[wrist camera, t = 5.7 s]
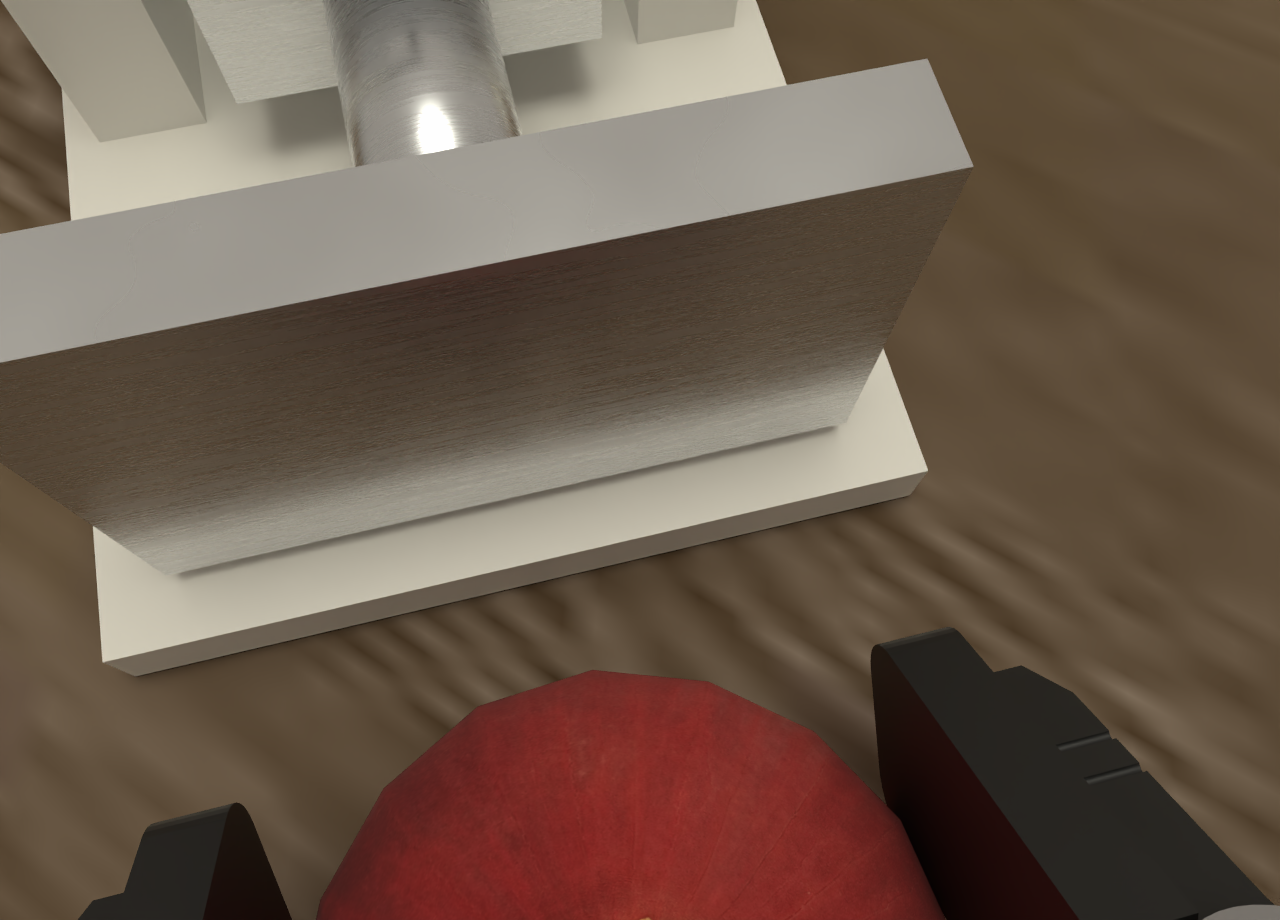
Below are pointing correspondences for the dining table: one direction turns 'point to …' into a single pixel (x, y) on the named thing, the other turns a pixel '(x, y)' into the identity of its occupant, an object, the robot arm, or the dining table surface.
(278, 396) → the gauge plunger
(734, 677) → the dining table surface
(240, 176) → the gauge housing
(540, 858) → the red pomegranate
